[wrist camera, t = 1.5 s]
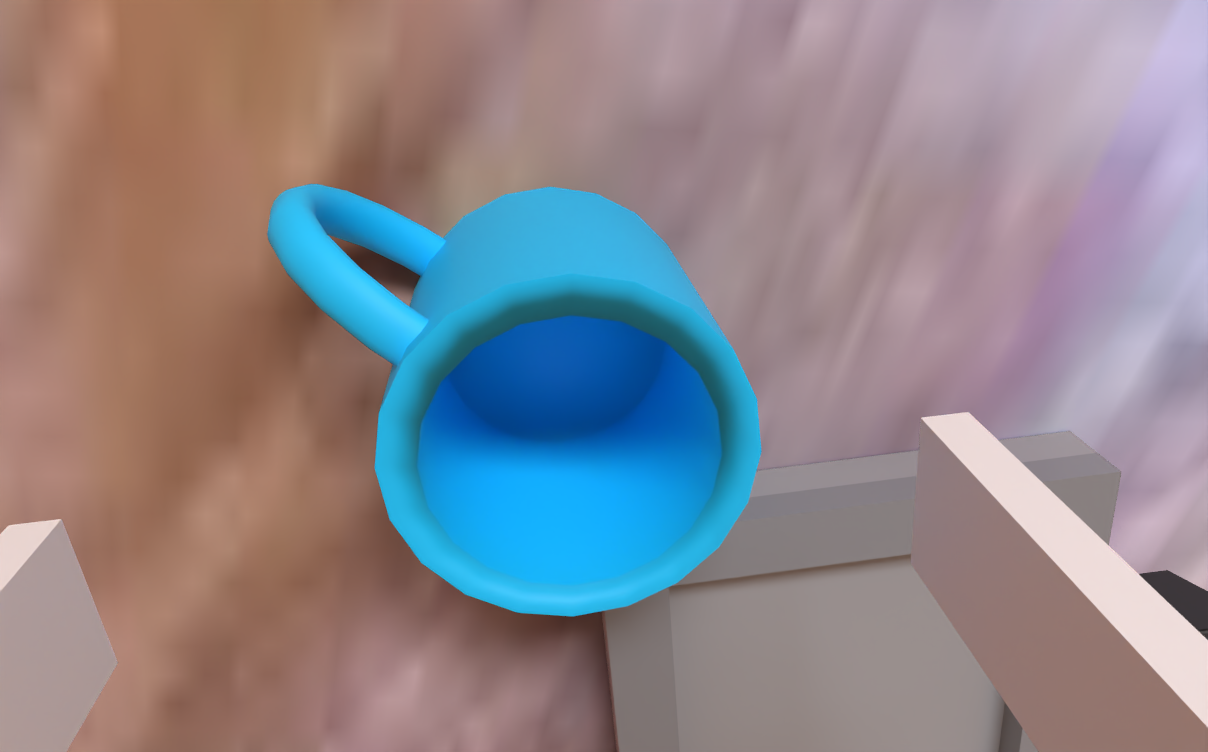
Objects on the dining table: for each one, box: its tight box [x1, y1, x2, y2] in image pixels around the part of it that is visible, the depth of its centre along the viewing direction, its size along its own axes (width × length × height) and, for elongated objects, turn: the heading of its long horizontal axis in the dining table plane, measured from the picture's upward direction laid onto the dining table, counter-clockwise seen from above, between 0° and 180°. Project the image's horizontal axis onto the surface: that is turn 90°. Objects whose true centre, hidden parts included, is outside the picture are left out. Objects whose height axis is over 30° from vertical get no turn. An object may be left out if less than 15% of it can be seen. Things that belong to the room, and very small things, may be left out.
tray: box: [602, 431, 1121, 752], centre depth 32 cm, size 16×20×3 cm
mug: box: [267, 184, 761, 616], centre depth 22 cm, size 12×8×8 cm
